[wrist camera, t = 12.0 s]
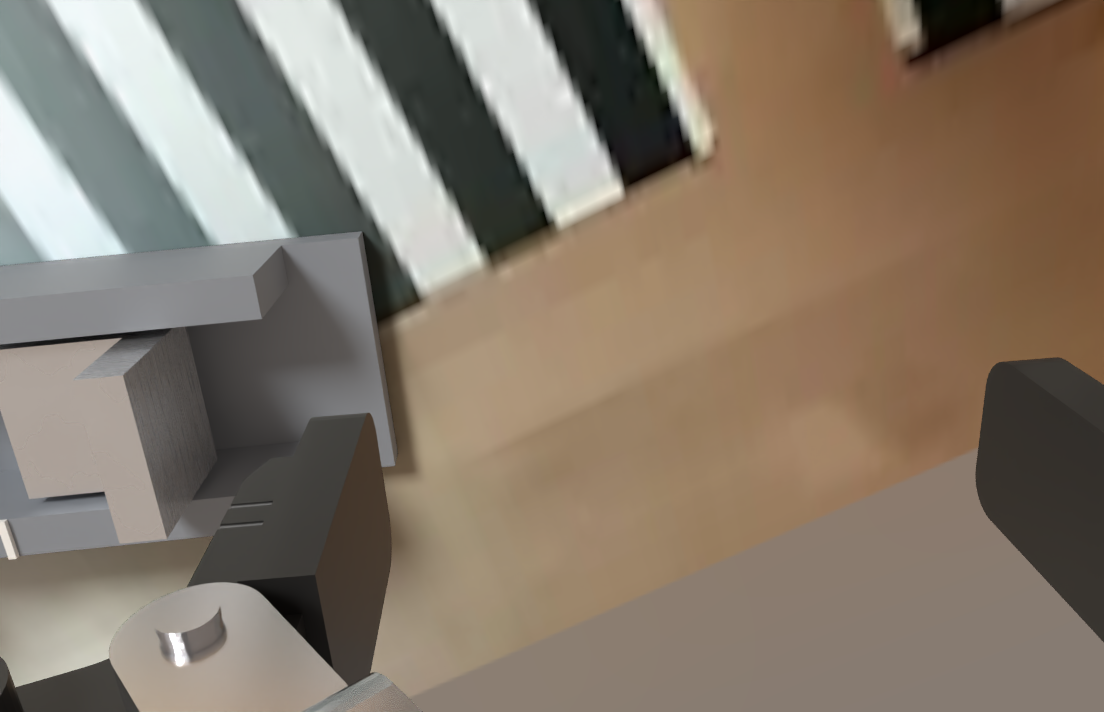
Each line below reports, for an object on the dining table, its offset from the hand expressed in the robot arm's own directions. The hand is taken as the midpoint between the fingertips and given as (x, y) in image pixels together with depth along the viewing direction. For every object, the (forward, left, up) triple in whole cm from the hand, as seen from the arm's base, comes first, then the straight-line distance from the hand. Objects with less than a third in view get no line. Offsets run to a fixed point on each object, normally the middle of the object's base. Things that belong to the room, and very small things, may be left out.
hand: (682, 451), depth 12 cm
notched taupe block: (+7, -18, -25) cm, 31 cm away
